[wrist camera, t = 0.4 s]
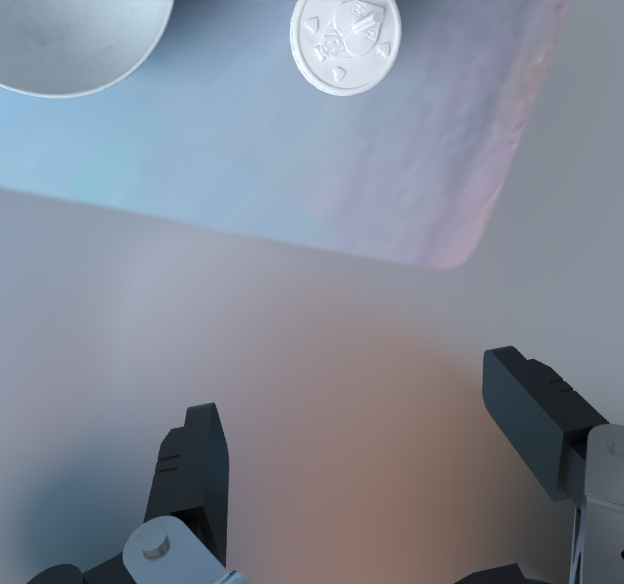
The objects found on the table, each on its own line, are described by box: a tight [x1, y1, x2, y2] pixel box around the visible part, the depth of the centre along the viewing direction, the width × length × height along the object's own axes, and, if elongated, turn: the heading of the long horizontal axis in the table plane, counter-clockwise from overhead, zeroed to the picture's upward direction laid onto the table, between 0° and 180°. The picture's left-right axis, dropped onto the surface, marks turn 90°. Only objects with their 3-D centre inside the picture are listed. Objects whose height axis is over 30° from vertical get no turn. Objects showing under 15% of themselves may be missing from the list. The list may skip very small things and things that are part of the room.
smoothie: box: [290, 0, 402, 96], centre depth 28 cm, size 6×6×14 cm
